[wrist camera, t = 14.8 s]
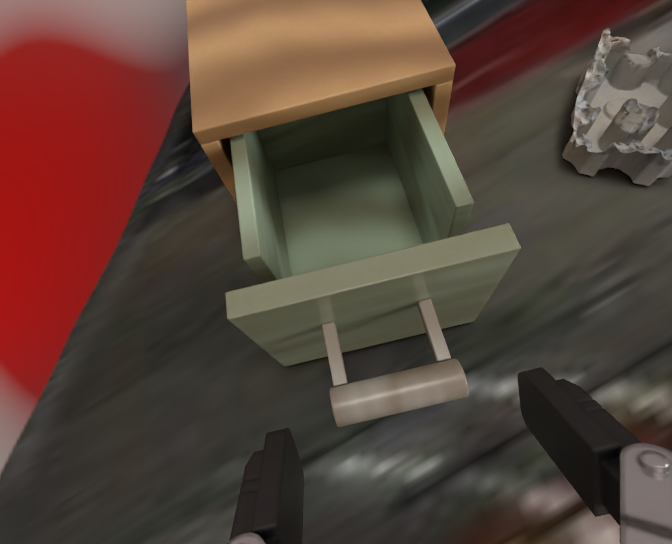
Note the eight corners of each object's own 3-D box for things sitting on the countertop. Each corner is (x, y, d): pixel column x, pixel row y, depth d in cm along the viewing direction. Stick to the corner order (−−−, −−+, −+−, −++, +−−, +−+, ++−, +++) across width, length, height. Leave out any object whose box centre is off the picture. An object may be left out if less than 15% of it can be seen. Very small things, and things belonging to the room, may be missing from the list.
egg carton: (577, 72, 31) (602, 20, 27) (685, 89, 29) (728, 36, 25) (549, 170, 27) (573, 125, 24) (670, 198, 25) (717, 154, 22)
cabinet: (433, 201, 27) (456, 64, 18) (260, 244, 28) (191, 132, 18) (377, 62, 35) (372, -90, 25) (240, 98, 35) (183, -39, 25)
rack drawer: (505, 397, 21) (578, 361, 13) (295, 446, 21) (236, 441, 13) (405, 141, 29) (410, 22, 21) (256, 179, 29) (206, 75, 21)
